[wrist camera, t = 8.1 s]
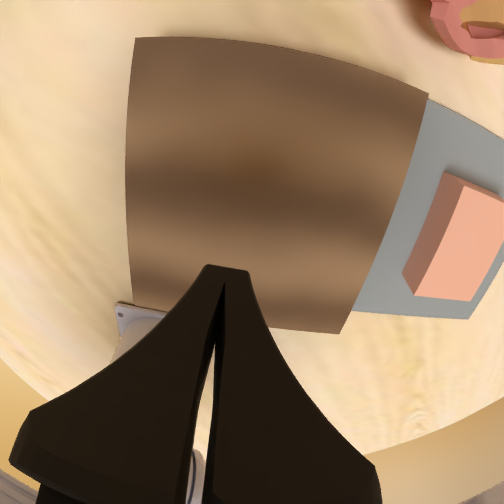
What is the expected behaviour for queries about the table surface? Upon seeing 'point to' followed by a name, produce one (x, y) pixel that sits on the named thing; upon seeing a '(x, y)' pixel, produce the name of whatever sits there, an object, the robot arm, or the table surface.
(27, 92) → the table surface
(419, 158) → the mat
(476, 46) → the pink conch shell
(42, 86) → the table surface
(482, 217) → the tile
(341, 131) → the step
